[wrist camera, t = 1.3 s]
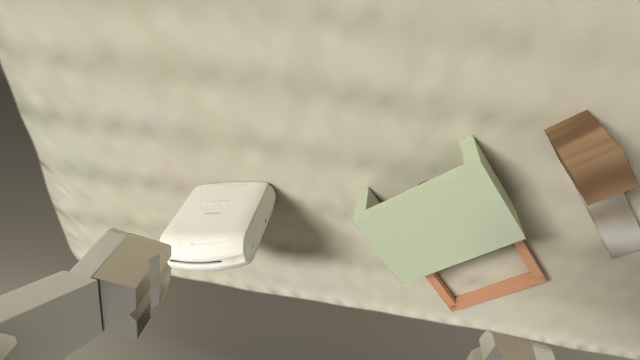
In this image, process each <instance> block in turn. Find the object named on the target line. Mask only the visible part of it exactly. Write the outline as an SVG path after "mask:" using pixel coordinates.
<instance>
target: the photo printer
mask: <svg viewBox="0 0 640 360" xmlns="http://www.w3.org/2000/svg"><path fill="white" fill-rule="evenodd" d="M275 200H276V194H275V191H274V189H273V188H272V187H271V186H270V185H269V184H268V183H265V182H233V183H216V184H205V185H200V186H197V187H196V188H195V189H194V190H193V191H192V193H191V194H190V195H189V197H188V198H187V200H186V201H185V202H184V204H183V205H182V207H181V208H180V209H179V211H178V212H177V214H176V215H175V217H174V218H173V220H172V221H171V222H170V224H169V225H168V227H167V228H166V230H165V231H164V232H163V234H162V236H161V238H160V242H163V243H166V244H169V245H171V257H170V259H169V260H168V262H167V263H168V265H169V266H170V267H173V268H177V269H182V270H189V271H220V270H227V269H233V268H237V267H241V266H244V265H247V264H249V263H251V262H252V261H253V259H254V257H255V254H256V251H257V249H258V246H259V244H260V241H261V239H262V236H263V234H264V231H265V229H266V226H267V224H268V221H269V219H270V217H271V214H272V212H273V209H274V203H275Z"/></svg>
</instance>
